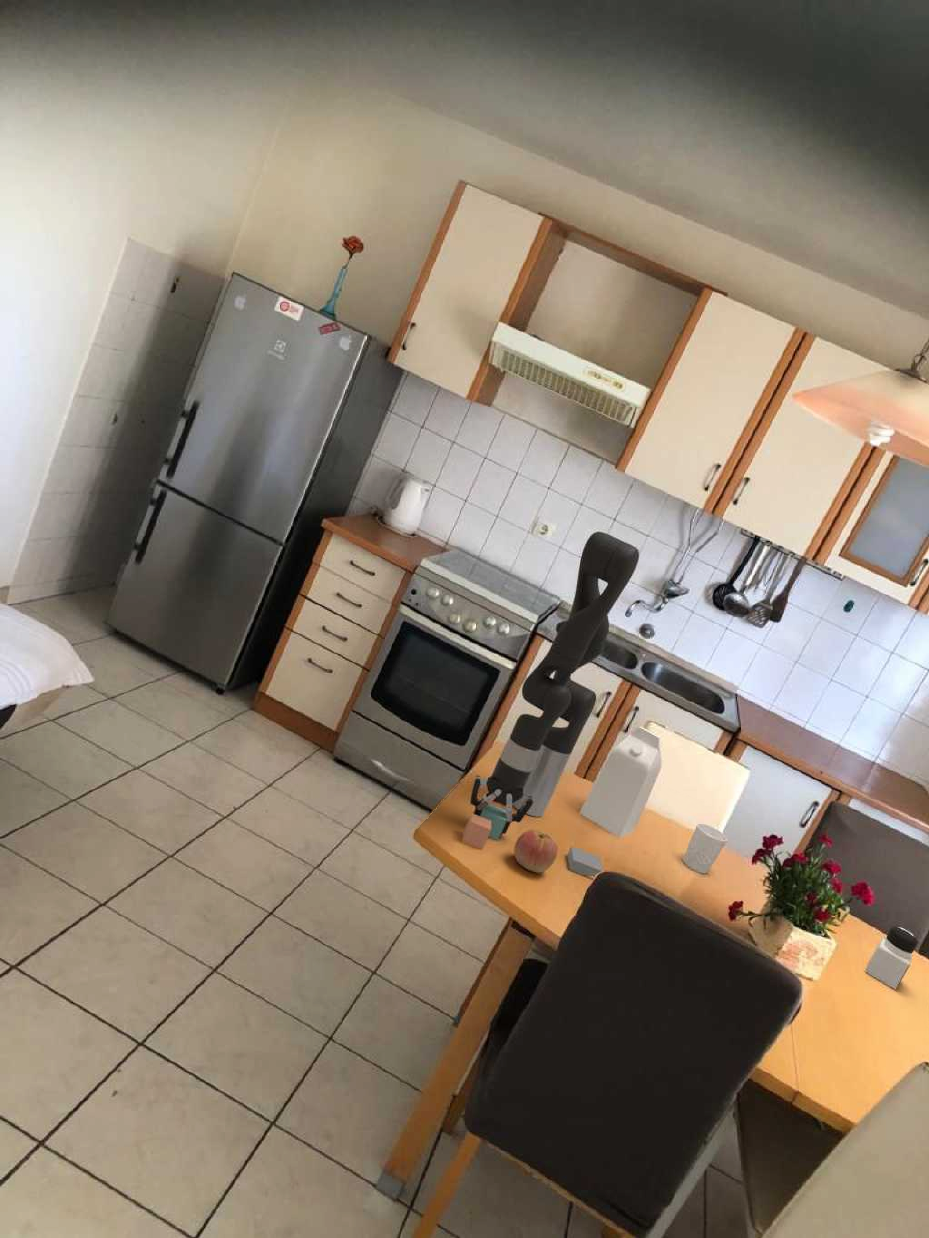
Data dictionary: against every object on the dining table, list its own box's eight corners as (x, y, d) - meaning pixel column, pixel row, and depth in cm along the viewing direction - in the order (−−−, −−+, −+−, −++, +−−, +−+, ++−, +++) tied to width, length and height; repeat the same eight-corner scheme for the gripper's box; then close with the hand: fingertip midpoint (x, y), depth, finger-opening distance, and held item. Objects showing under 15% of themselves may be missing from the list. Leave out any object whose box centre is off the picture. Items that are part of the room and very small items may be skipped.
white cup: (712, 869, 243) (729, 835, 241) (707, 878, 235) (724, 844, 233) (683, 853, 245) (700, 820, 243) (677, 862, 238) (695, 828, 236)
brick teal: (475, 820, 214) (483, 801, 213) (497, 829, 214) (506, 810, 213) (474, 831, 209) (483, 811, 208) (497, 840, 209) (506, 820, 208)
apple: (545, 884, 198) (560, 851, 196) (506, 866, 199) (521, 832, 197) (549, 867, 206) (564, 835, 205) (511, 849, 207) (526, 817, 205)
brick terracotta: (462, 833, 206) (471, 813, 205) (482, 840, 206) (491, 820, 205) (462, 842, 201) (471, 821, 200) (481, 850, 201) (491, 829, 200)
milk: (635, 829, 248) (677, 741, 243) (619, 837, 238) (663, 746, 233) (596, 805, 254) (636, 718, 248) (579, 812, 244) (620, 722, 238)
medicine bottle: (895, 990, 216) (920, 946, 213) (864, 972, 219) (889, 928, 217) (898, 980, 222) (923, 937, 220) (868, 962, 225) (892, 919, 223)
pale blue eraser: (566, 855, 216) (571, 845, 215) (595, 866, 216) (600, 857, 215) (569, 869, 209) (573, 859, 208) (598, 881, 209) (603, 871, 209)
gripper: (546, 767, 212) (516, 833, 215) (486, 743, 211) (457, 810, 215) (548, 780, 204) (517, 848, 208) (485, 755, 204) (455, 823, 207)
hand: (487, 828), depth 211 cm, fingers closed on brick teal, 5 cm apart
